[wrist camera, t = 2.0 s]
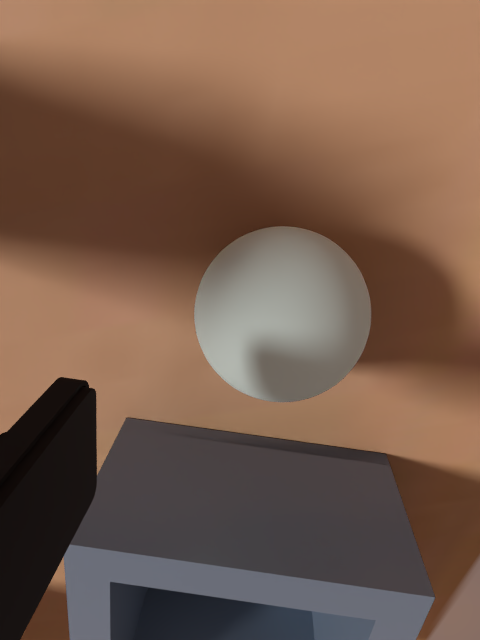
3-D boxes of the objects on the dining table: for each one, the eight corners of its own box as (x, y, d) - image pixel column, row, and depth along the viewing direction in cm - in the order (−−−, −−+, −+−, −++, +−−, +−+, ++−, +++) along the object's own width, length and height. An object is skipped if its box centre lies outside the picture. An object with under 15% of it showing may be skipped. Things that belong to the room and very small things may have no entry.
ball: (214, 201, 17) (185, 238, 11) (370, 222, 17) (417, 269, 11) (201, 340, 19) (173, 425, 14) (337, 359, 19) (363, 452, 14)
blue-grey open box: (126, 417, 21) (62, 543, 15) (386, 453, 21) (435, 597, 15) (124, 588, 26) (76, 735, 20) (333, 618, 26) (352, 778, 20)
